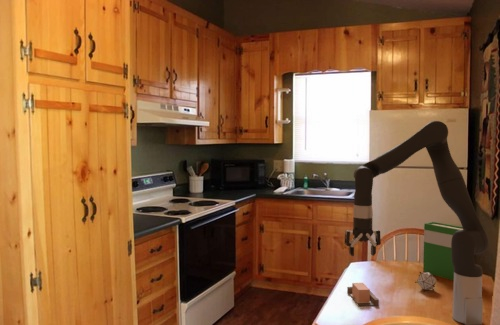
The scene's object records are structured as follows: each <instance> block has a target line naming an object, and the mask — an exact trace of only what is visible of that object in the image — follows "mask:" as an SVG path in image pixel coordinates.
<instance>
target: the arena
mask: <svg viewBox="0 0 500 325" xmlns="http://www.w3.org/2000/svg"><path fill="white" fill-rule="evenodd" d="M346 288H347V291H346V292H347V294H348V295H349V297H350V298H353V299H352V300H353V302H354V303H355V304H356V303H357V304H358V305H357V304H356V305H357V306H358V307H379V306H380V300H379V298H378V297H377V296H376V295H375V294H374V293H373V292H372V291H371V290H370V302H358V301H357V300H356V298H355V297H354V296H353V295H352V286H347V287H346Z"/></svg>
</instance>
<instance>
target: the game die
mask: <svg viewBox="0 0 500 325" xmlns="http://www.w3.org/2000/svg"><path fill="white" fill-rule="evenodd" d="M429 272H430V271H428V272H426V273H425V272H421V271H419V275H418V276H419V277H418V279H417V280H416V281H414V283H415V284H417V285H419V286H420V287H421V289H422V290H423V292H426V291H429V290H432V291H434V290H435V289H434V288H435V287H436V286H435V285H436V283H437V281H439V278H436V277H435V275H432V274H430V273H429Z"/></svg>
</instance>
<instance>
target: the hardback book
mask: <svg viewBox="0 0 500 325" xmlns="http://www.w3.org/2000/svg"><path fill="white" fill-rule="evenodd" d="M423 224H424V226H423V228H424V229H423V230H424V231H423V233H424V234H423V267H422V268H423V269H422V273H426V272H428V271H430V272H429V273H430V274H432V275H433V276H436V277H440V278H443V279H446V280H451V281H454V267H453V264H452V253H451V241H452V236H453V234H454V233H455V232H456V231H458V230H463V227H462V226H460V225H455V224H454V225H453V224H448V223H442V222H437V221H430V222H426V223H423Z"/></svg>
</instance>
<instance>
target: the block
mask: <svg viewBox="0 0 500 325" xmlns="http://www.w3.org/2000/svg"><path fill="white" fill-rule="evenodd" d="M351 287H352V295H353V296H354V297H355V298H356V300H357V301H358V302H370V291H371V289H370V288H369V287H368V286H367V285H366V284H365V283H364V282H353V283H352V284H351Z"/></svg>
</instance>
